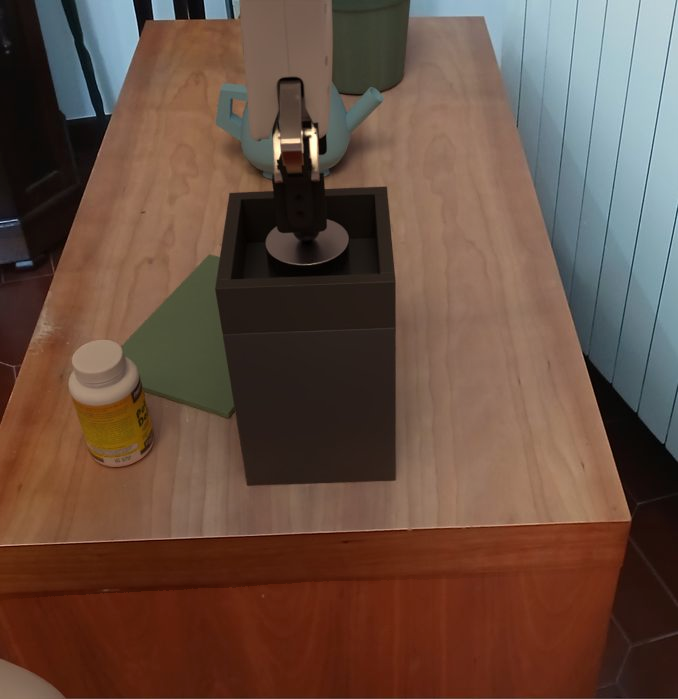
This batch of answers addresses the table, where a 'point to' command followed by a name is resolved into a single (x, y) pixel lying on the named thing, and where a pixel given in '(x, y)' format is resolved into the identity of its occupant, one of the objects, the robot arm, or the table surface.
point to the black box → (311, 347)
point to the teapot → (263, 150)
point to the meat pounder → (308, 250)
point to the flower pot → (368, 44)
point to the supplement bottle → (110, 404)
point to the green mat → (186, 346)
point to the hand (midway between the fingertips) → (303, 189)
